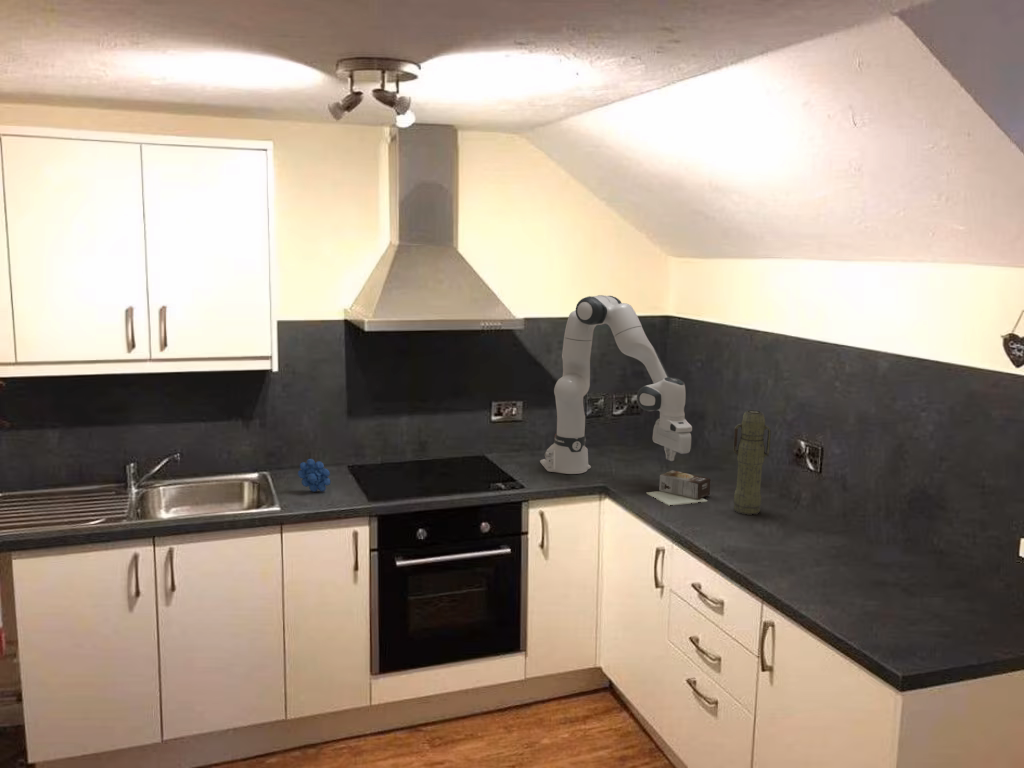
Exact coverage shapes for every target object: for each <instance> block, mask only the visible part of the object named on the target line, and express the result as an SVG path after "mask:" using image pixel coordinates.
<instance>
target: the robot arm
mask: <svg viewBox="0 0 1024 768" xmlns="http://www.w3.org/2000/svg"><path fill="white" fill-rule="evenodd" d="M577 302H578V303H577V304H576V306H575V310H573V311H572V312H570V313H569V315H568V318H567V321H566V325H565V330H564V336H563V341H562V342H563V343H562V352H561V359H562V377H560V378H558V380H557V381H556V383H555V385H554V388H553V393H554V397H555V407H556V416H557V417H556V433H555V434H554V441H553V444H551V445H550V446H549V447H548V448H547V449H546V451H545V452H544V457H545V458H542V459H540V460H539V463H540V464H541V465H542V466H543V468H544V469H545V470H546V471H547V472H550V473H551V472H552V473H557V474H567V475H576V474H583V473H586V472H587V471H588V470H590V469H591V467H592V466H591V465H590V464H589V453H588V452H589V450H588V448H587V447H586V441H587V439H586V434H585V429H586V428H585V427H586V413H585V409H584V396H586V395H587V394H588V392H589V390H590V387H591V354H592V347H593V346H592V345H593V338H594V331H595V328H596V327H597V326H599V325H600V326H603V325H608V327H609V328H610V330H611V332H612V335H613V337H614V341H615V343H616V345H617V348H618V349H619V351H620V352H621V353H622V354H624V355H625V356H627V357H631V358H634V359H635V360H637V361H639V362H641V363H642V364H643V365H644V366H645V369H646V370H647V373H648V375H649V377H650V378H651V380H652V384H651V383H650V384H647V385H644V386H642V387H640V388H639V390H638V391H637V394H636V400H637V404H638V406H639V407H640V408H641V410H643V411H647V412H653V411H659V418H657V419H656V421H655V423H654V426H653V428H652V429H653V430H652V441H653V443H655V444H658V445H659V446H662V447H663V449H664V452H665V459H666V460H668V461H670V462H673V461H675V457H676V455H677V453H678V454H681V455H685V454H689V453H690V451H691V450H692V434H691V432H692V431H693V426H692V425H691V424H690V423H689V422H688V421H687V419H686V417H685V405H686V397H687V396H686V395H687V394H686V392H687V391H686V384H685V382H684V381H683V380H681V379H679V378H677V377H670V375H669V374H668V371H667V370H666V368H665V365H664V364H663V362H662V359H661V357H660V355H659V354H658V351H657V350H656V349H655V347H654V346H653V344H652V343H651V342H650V340H649V338H648V337H647V335H646V332H645V331H644V328H643V326H642V323H641V321H640V319H639V316H638V314H637V313H636V311H635V309H634V308H633V306H632V305H631V304H629V303H624V302H622V301H621V300H620V299H619V298H617V297H616V296H613V295H603V294H599V295H594V296H593V295H591V296H590V295H589V296H585V297H583V298H581V299H580V300H579V301H577Z"/></svg>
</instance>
